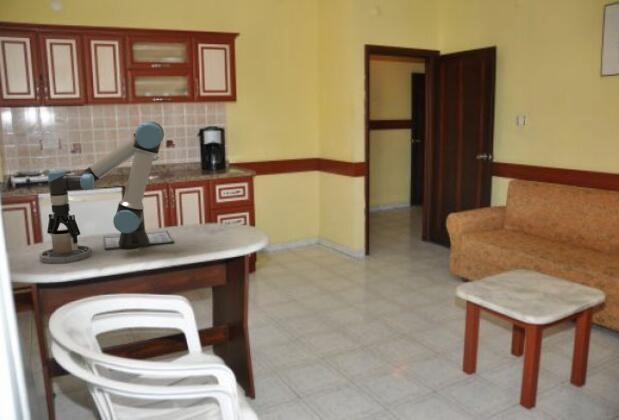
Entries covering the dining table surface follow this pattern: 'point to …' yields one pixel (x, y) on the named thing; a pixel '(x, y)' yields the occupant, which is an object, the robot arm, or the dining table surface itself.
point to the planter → (61, 241)
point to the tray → (65, 255)
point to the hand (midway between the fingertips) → (65, 248)
